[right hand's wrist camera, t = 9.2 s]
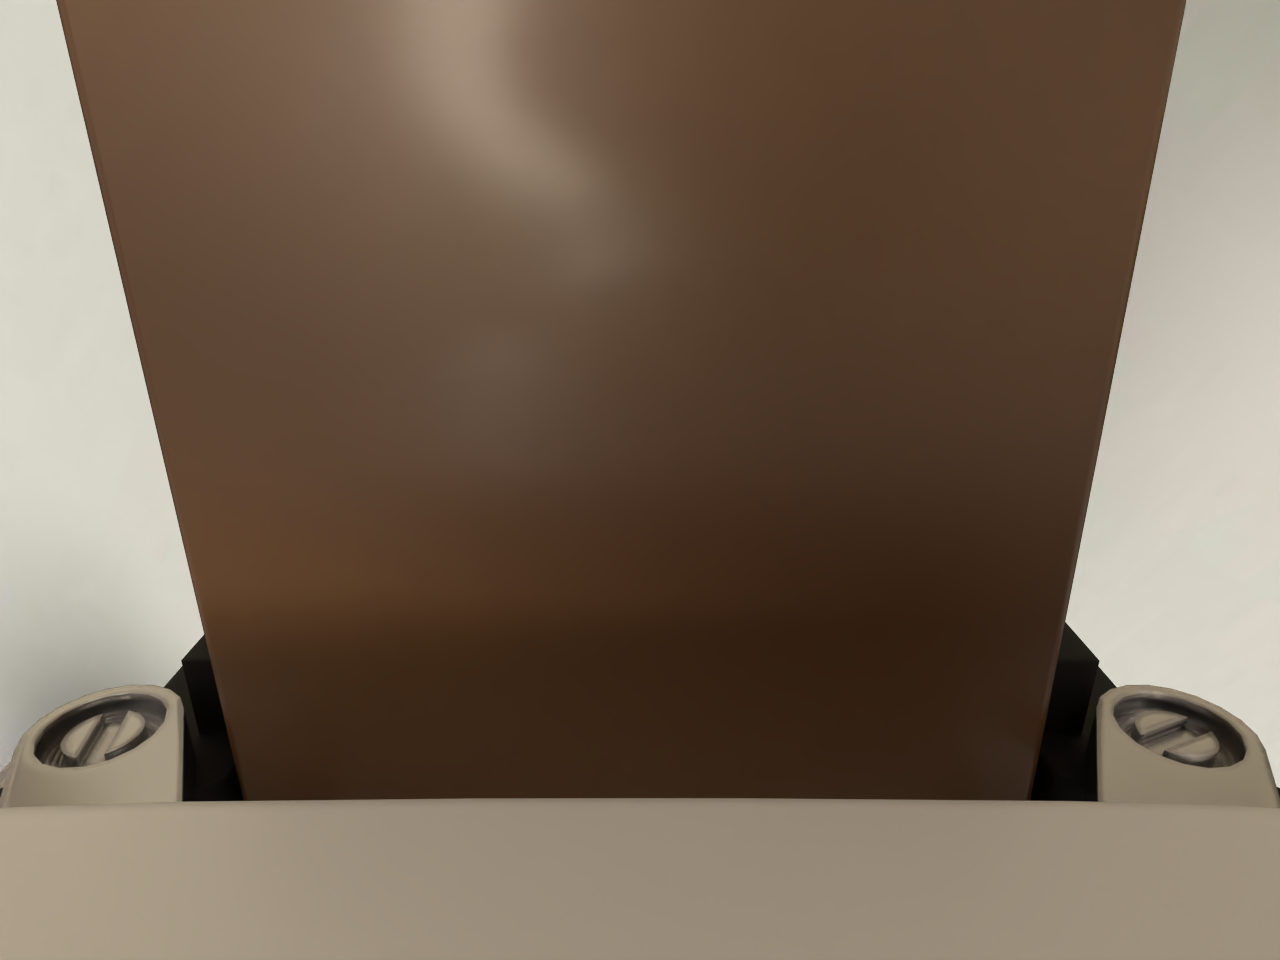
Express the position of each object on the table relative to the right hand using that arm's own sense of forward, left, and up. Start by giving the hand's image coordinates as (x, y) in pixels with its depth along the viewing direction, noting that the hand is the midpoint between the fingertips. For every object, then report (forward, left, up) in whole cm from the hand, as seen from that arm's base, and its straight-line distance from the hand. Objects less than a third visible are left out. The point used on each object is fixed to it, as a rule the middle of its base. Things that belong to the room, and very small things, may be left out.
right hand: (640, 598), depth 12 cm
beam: (+10, -31, -1) cm, 33 cm away
